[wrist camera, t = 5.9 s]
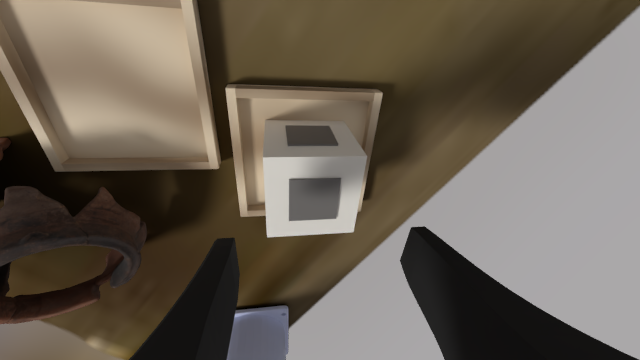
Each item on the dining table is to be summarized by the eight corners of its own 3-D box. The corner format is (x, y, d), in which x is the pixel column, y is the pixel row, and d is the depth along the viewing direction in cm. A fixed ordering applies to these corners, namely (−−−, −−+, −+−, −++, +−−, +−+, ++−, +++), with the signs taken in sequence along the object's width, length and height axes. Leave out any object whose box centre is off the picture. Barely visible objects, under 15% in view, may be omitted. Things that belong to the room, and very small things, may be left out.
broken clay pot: (29, 91, 14) (27, 198, 10) (162, 172, 22) (191, 251, 18) (-180, 226, 13) (-277, 404, 9) (38, 260, 22) (39, 363, 17)
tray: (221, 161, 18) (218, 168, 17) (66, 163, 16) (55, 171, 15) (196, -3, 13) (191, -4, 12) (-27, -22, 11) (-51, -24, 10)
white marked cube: (336, 185, 20) (354, 233, 15) (268, 187, 19) (266, 238, 15) (344, 119, 17) (368, 155, 13) (264, 118, 16) (262, 156, 12)
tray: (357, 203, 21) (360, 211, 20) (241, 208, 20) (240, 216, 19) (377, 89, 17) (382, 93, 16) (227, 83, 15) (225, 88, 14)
